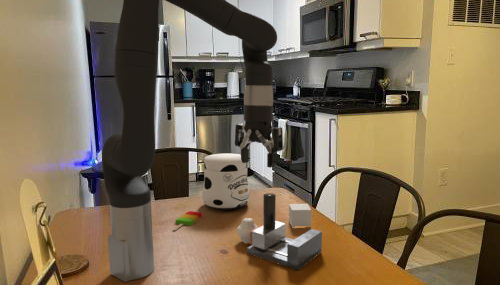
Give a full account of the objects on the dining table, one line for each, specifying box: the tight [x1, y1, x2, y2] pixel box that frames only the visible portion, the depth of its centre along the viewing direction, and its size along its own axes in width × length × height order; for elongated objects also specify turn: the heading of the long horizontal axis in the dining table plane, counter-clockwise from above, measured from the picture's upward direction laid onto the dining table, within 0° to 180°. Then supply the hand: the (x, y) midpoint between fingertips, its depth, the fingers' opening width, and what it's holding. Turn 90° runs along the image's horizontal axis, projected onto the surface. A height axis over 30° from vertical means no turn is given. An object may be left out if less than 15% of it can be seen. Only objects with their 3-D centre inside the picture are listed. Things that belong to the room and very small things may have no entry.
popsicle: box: [172, 210, 203, 232], centre depth 123 cm, size 6×15×2 cm, turn 162°
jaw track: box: [246, 228, 323, 271], centre depth 100 cm, size 12×16×6 cm
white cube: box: [288, 203, 312, 227], centre depth 120 cm, size 6×6×6 cm
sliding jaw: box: [249, 192, 287, 250], centre depth 103 cm, size 10×5×13 cm, turn 142°
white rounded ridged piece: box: [236, 217, 259, 244], centre depth 108 cm, size 6×6×7 cm
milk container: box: [201, 152, 251, 211], centre depth 138 cm, size 17×17×18 cm
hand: (257, 164), depth 101 cm, fingers open, 8 cm apart
